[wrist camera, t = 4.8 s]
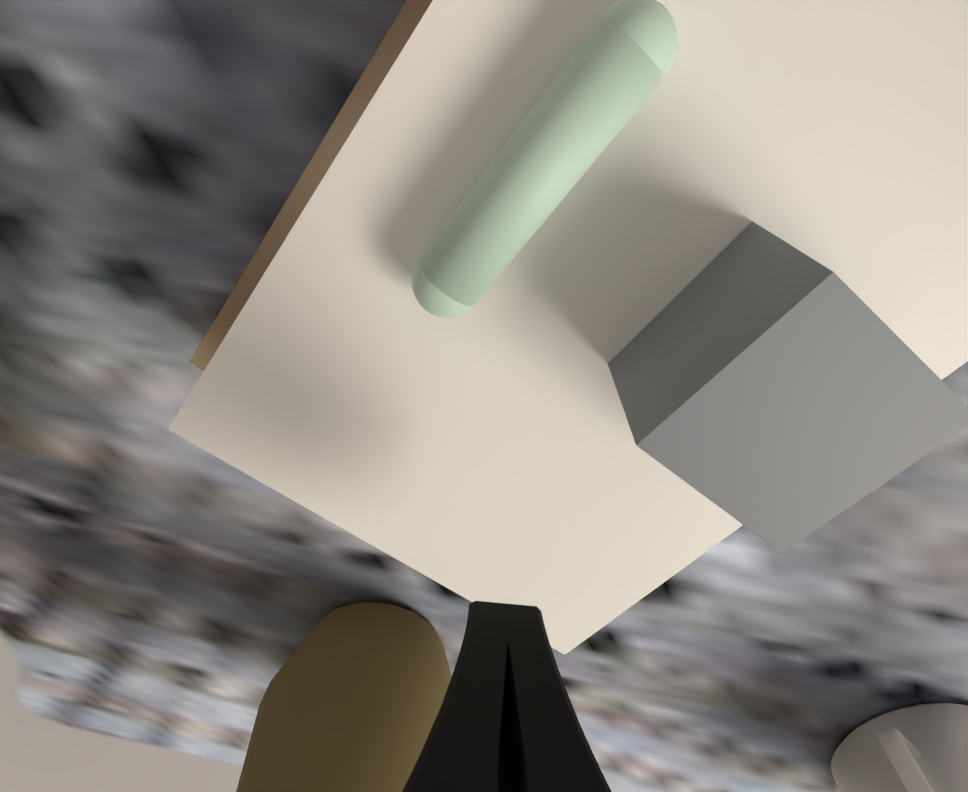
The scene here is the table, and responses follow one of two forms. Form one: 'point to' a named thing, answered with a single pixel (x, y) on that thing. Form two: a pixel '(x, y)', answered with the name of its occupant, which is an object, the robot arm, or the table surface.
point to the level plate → (614, 292)
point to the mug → (906, 751)
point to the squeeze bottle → (349, 705)
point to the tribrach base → (313, 174)
